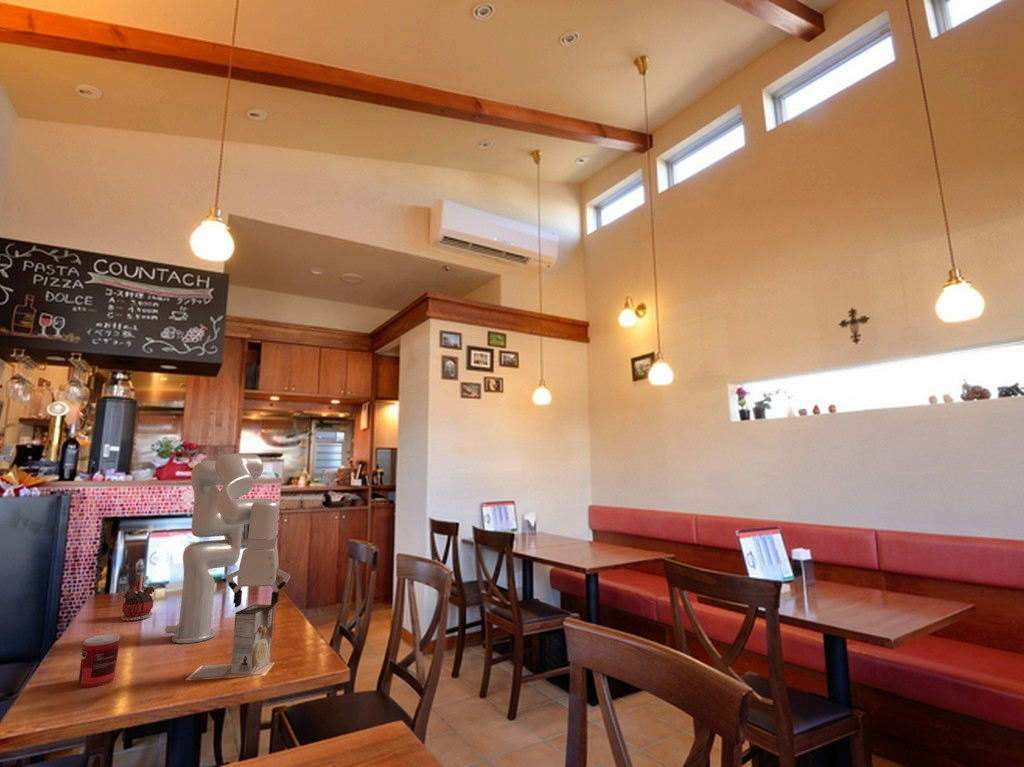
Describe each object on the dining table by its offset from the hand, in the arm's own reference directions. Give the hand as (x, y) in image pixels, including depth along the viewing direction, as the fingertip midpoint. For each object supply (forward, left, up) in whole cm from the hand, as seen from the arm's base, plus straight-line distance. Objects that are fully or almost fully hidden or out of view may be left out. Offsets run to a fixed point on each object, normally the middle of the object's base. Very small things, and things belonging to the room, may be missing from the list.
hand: (255, 605), depth 149 cm
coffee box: (0, 0, -17) cm, 17 cm away
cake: (-60, +64, -18) cm, 89 cm away
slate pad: (-10, -1, -17) cm, 19 cm away
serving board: (-5, -1, -18) cm, 19 cm away
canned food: (-39, 0, -18) cm, 43 cm away
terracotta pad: (0, -1, -17) cm, 17 cm away
